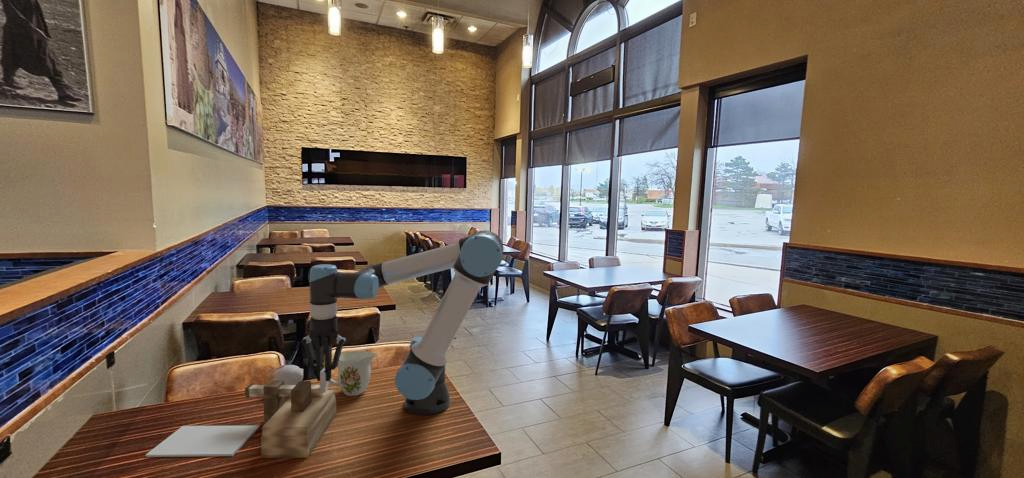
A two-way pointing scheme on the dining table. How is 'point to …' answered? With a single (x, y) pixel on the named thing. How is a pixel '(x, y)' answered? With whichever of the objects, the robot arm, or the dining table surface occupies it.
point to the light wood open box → (290, 444)
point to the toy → (289, 374)
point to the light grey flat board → (204, 441)
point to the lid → (298, 412)
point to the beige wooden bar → (283, 390)
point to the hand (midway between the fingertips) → (324, 390)
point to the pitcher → (354, 372)
